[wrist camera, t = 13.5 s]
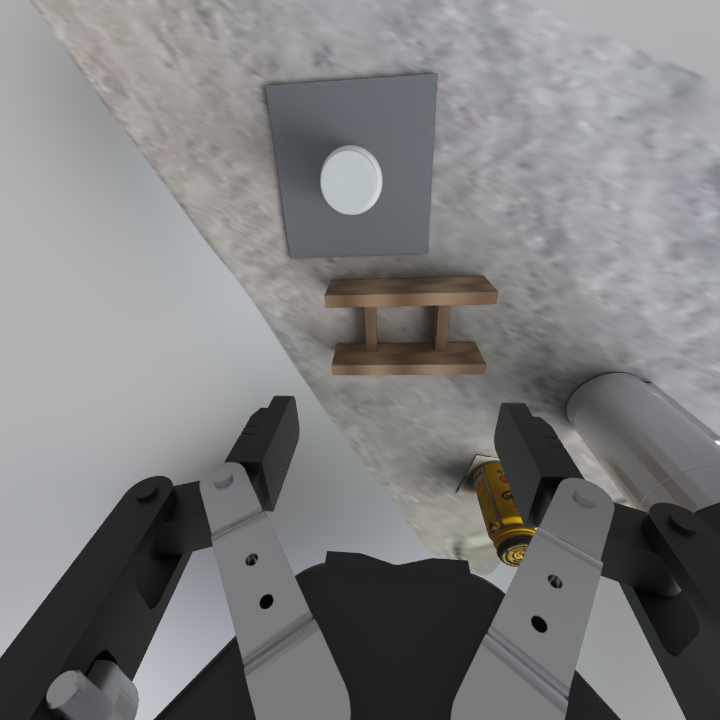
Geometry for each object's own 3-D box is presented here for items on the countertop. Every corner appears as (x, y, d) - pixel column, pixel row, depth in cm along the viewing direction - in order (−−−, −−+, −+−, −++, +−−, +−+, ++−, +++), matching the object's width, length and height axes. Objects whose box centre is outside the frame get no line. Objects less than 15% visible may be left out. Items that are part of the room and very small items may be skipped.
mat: (436, 74, 27) (437, 73, 27) (426, 252, 34) (427, 253, 34) (267, 86, 28) (265, 85, 28) (291, 257, 35) (290, 258, 35)
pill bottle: (322, 159, 30) (303, 157, 23) (373, 139, 29) (371, 131, 22) (340, 214, 32) (328, 228, 25) (388, 197, 31) (390, 207, 24)
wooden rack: (483, 276, 35) (498, 291, 31) (473, 351, 39) (484, 374, 35) (331, 280, 36) (324, 295, 32) (337, 352, 40) (332, 375, 36)
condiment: (525, 463, 48) (564, 545, 38) (501, 500, 52) (530, 583, 42) (476, 453, 48) (502, 533, 37) (455, 492, 52) (474, 573, 41)
